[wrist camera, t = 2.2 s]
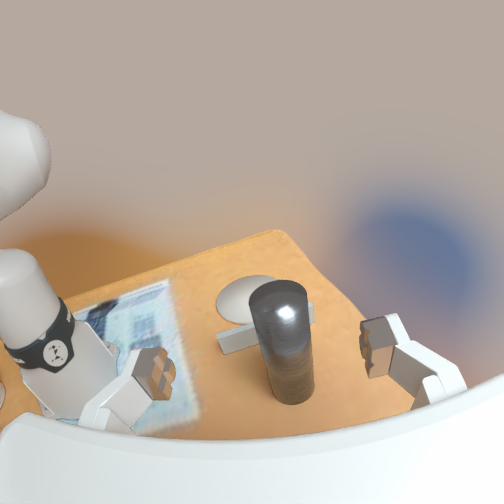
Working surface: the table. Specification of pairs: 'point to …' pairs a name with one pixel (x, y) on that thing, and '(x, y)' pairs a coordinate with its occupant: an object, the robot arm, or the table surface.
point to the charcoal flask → (284, 338)
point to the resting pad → (239, 298)
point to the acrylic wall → (246, 335)
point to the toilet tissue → (2, 394)
